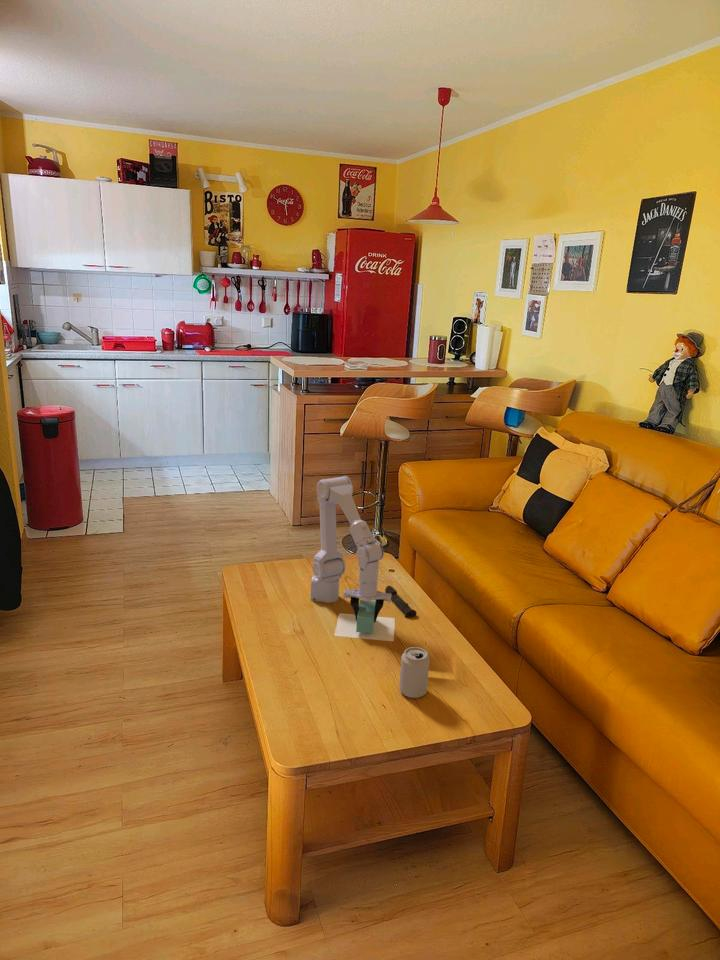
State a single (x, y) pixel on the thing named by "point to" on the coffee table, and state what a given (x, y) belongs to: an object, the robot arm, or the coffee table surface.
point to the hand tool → (400, 602)
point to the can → (414, 672)
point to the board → (380, 632)
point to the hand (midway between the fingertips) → (365, 619)
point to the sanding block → (365, 616)
